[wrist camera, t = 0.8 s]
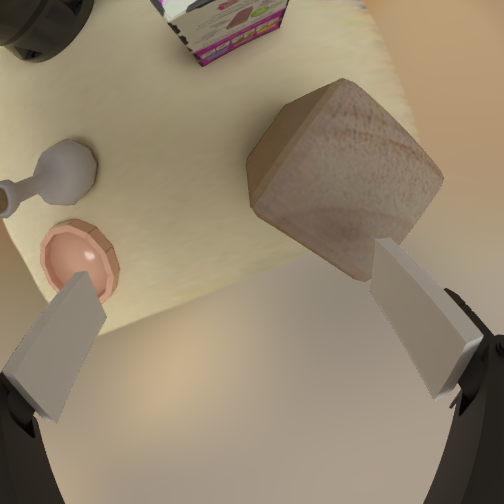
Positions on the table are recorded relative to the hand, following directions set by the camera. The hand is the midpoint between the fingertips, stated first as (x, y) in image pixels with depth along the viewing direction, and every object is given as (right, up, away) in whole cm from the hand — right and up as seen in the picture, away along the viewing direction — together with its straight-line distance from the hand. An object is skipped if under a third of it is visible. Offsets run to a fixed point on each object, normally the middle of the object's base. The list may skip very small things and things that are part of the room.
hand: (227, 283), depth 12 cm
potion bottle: (-23, +13, +20) cm, 34 cm away
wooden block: (+7, +13, +21) cm, 26 cm away
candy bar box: (-2, +28, +14) cm, 31 cm away
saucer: (-26, 0, +26) cm, 37 cm away
